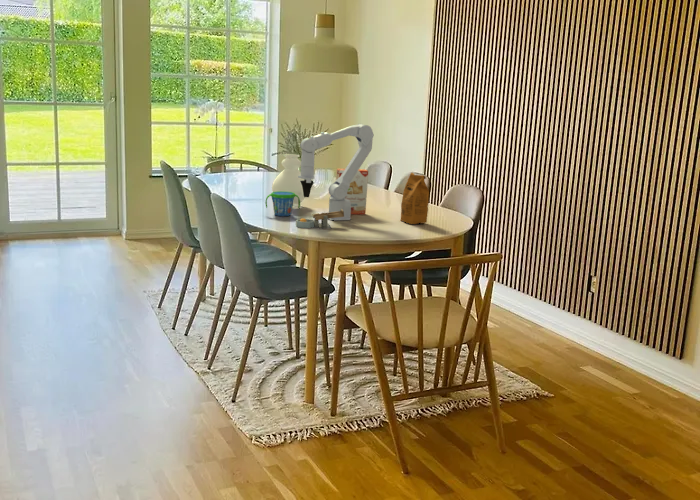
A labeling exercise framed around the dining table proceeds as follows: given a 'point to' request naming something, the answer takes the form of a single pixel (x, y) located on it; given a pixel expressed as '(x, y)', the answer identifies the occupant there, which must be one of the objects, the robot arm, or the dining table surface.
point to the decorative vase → (290, 179)
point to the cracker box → (357, 191)
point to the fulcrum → (322, 223)
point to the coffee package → (415, 200)
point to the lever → (330, 215)
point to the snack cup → (282, 202)
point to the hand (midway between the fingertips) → (306, 197)
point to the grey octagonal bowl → (305, 223)
